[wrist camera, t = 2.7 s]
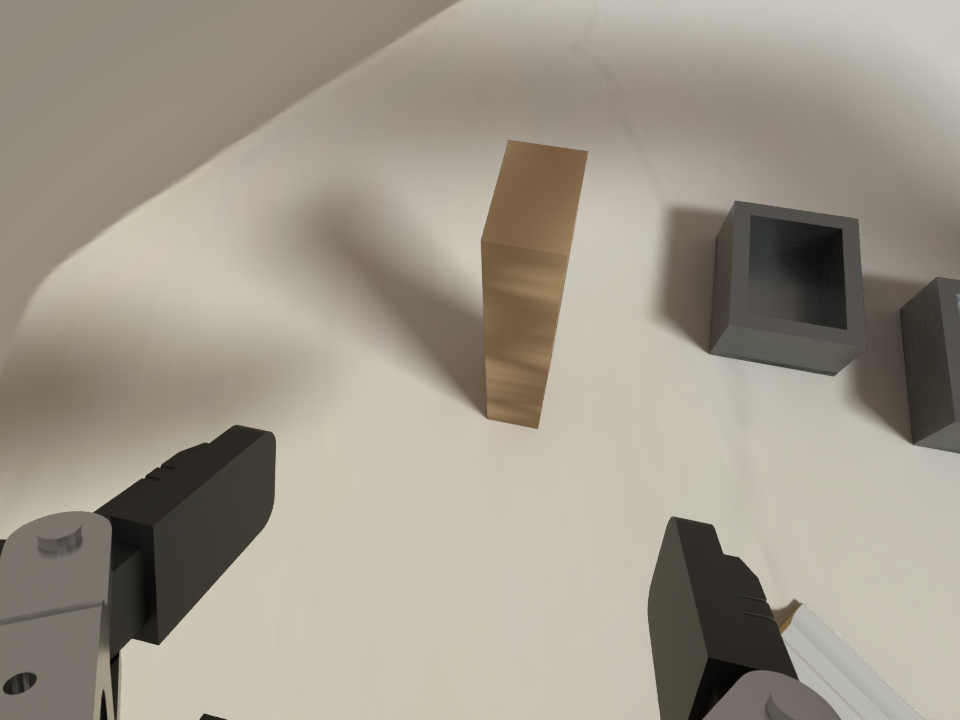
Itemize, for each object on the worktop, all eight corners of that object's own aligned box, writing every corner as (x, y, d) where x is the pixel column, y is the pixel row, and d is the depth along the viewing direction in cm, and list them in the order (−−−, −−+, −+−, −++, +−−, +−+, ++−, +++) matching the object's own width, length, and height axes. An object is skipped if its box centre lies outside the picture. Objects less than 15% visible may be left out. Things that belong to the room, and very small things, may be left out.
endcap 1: (829, 254, 34) (858, 218, 31) (834, 376, 31) (866, 348, 28) (716, 236, 35) (735, 200, 32) (709, 353, 31) (729, 324, 29)
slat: (551, 356, 31) (587, 151, 19) (537, 428, 30) (567, 254, 17) (503, 348, 32) (508, 140, 19) (487, 418, 30) (480, 240, 17)
